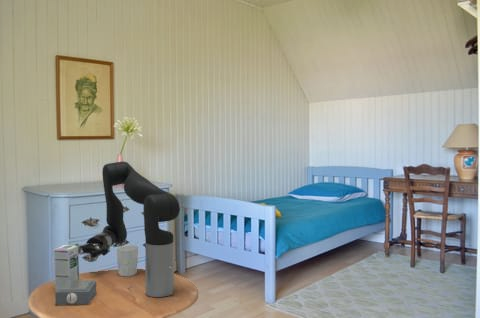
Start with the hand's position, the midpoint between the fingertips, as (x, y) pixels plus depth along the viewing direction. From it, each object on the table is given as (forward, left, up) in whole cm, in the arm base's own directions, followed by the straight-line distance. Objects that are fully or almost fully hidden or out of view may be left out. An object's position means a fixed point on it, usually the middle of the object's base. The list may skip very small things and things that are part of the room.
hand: (81, 254), depth 162 cm
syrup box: (+2, +11, -9) cm, 14 cm away
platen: (-4, +21, -5) cm, 22 cm away
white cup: (-16, -4, -9) cm, 19 cm away
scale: (-4, +21, -9) cm, 23 cm away
